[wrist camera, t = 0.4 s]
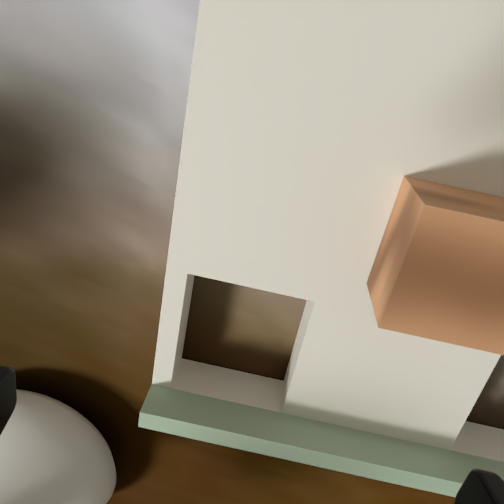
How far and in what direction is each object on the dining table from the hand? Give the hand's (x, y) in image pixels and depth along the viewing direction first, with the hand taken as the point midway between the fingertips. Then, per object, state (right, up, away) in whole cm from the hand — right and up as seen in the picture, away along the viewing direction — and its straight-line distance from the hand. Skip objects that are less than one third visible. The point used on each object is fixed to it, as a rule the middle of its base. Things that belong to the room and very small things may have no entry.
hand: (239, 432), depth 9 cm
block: (+8, +4, +10) cm, 14 cm away
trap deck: (+8, +4, +13) cm, 16 cm away
